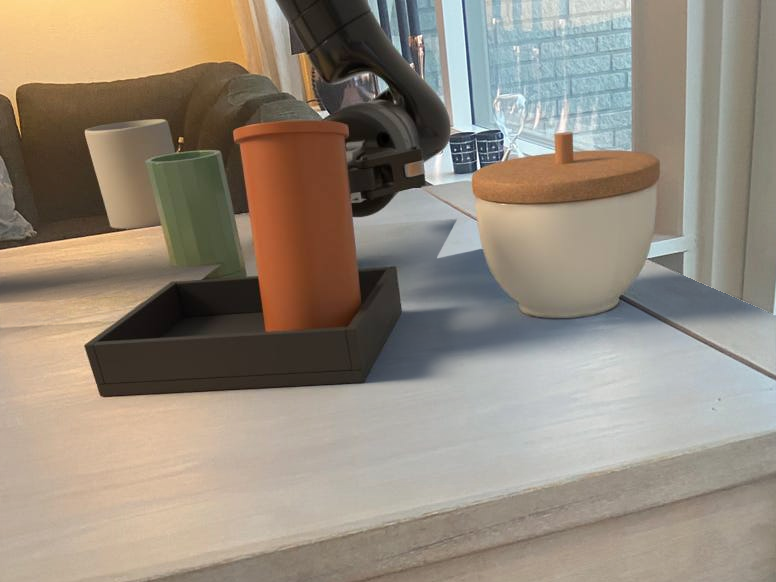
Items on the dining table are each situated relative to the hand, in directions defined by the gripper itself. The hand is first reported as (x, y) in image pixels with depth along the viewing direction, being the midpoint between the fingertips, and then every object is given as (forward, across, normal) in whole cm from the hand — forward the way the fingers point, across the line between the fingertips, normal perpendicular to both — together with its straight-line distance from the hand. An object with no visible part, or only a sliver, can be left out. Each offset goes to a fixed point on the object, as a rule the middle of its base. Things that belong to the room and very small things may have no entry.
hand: (314, 193), depth 63 cm
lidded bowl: (-4, +16, +9) cm, 19 cm away
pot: (+5, 0, +8) cm, 9 cm away
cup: (-19, -16, +9) cm, 26 cm away
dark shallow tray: (+3, -5, +9) cm, 11 cm away
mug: (-42, -29, +9) cm, 52 cm away
